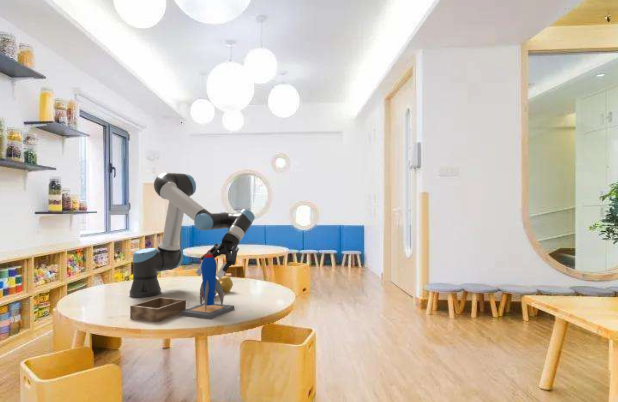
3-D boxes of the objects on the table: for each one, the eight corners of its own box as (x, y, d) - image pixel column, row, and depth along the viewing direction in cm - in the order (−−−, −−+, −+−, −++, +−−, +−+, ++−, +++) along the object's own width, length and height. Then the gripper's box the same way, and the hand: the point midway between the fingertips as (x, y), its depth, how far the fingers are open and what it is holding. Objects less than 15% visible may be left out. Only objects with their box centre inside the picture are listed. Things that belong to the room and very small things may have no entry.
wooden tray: (130, 317, 161) (130, 305, 161) (160, 308, 176) (159, 297, 176) (157, 321, 155) (157, 309, 155) (185, 311, 169) (185, 300, 169)
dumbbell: (213, 300, 190) (213, 283, 190) (198, 298, 193) (198, 282, 193) (234, 291, 208) (234, 276, 208) (219, 290, 211) (219, 275, 211)
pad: (180, 315, 164) (180, 311, 164) (205, 305, 179) (205, 302, 179) (210, 319, 157) (210, 315, 157) (234, 309, 172) (234, 305, 172)
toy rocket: (205, 312, 161) (204, 251, 162) (189, 309, 166) (188, 250, 167) (224, 306, 171) (223, 249, 171) (208, 303, 176) (207, 248, 176)
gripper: (256, 244, 175) (232, 283, 163) (219, 241, 190) (194, 277, 178) (248, 233, 171) (222, 272, 159) (210, 231, 186) (184, 267, 173)
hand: (207, 275), depth 168 cm, fingers open, 13 cm apart
